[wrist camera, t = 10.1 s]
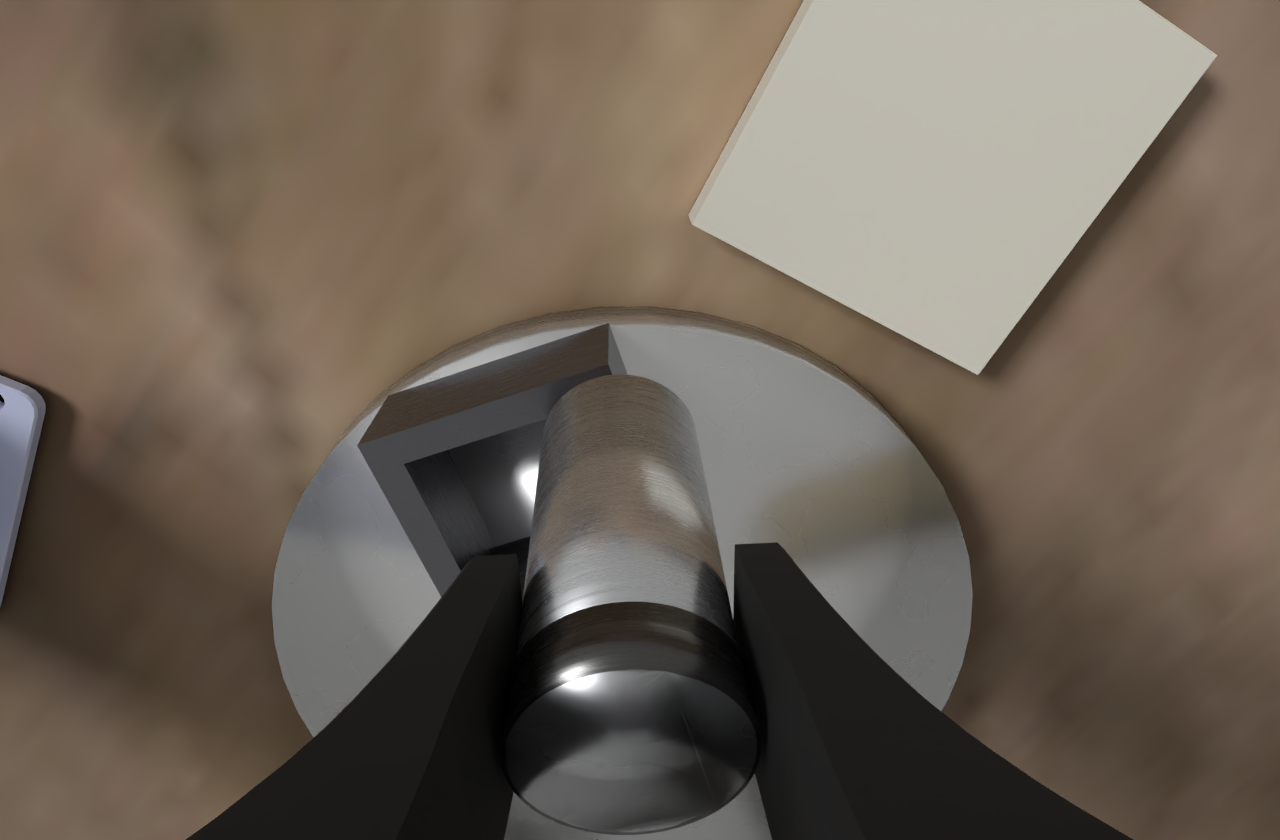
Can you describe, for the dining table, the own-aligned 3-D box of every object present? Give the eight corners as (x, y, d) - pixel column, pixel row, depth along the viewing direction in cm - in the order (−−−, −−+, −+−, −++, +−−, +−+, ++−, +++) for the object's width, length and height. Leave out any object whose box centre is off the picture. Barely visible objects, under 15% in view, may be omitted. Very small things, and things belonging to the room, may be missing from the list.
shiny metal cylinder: (544, 508, 16) (511, 839, 10) (534, 373, 15) (487, 670, 9) (696, 504, 16) (751, 830, 10) (702, 370, 15) (772, 662, 9)
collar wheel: (459, 890, 28) (437, 1014, 25) (154, 441, 20) (57, 528, 17) (991, 755, 26) (1052, 869, 23) (884, 198, 18) (950, 237, 15)
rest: (688, 215, 19) (691, 224, 18) (886, -154, 16) (903, -165, 15) (961, 360, 20) (977, 374, 19) (1185, 54, 17) (1217, 54, 16)
